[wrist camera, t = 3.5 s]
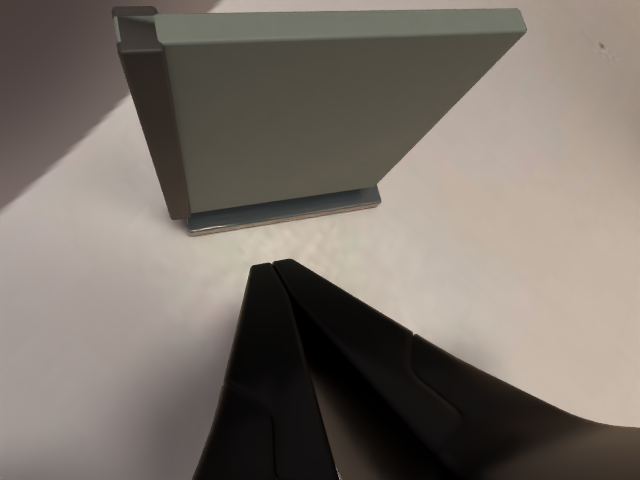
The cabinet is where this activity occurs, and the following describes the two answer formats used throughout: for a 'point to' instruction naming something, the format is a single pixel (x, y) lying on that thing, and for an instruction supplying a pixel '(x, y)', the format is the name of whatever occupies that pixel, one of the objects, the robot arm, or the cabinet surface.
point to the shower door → (296, 94)
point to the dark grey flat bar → (281, 211)
